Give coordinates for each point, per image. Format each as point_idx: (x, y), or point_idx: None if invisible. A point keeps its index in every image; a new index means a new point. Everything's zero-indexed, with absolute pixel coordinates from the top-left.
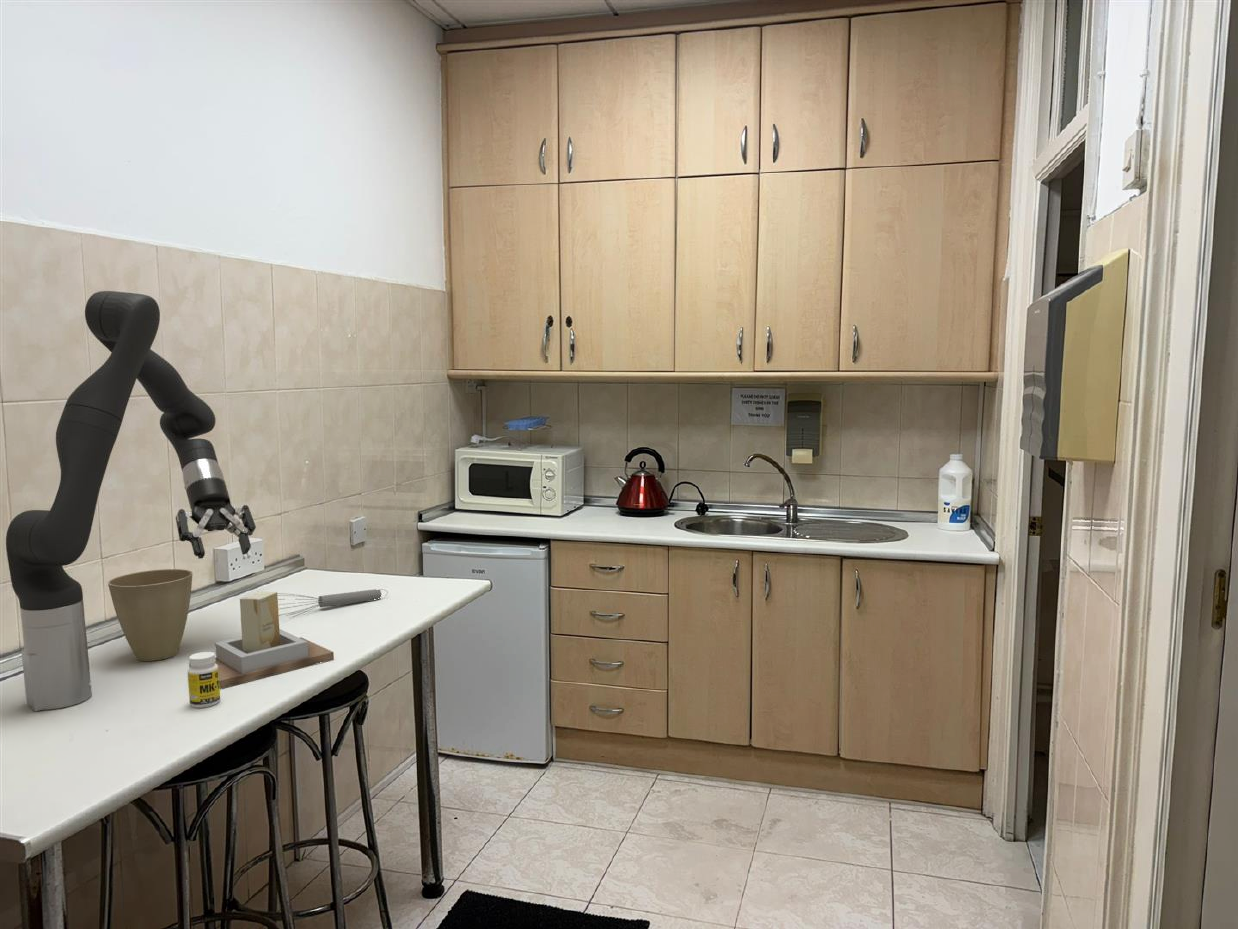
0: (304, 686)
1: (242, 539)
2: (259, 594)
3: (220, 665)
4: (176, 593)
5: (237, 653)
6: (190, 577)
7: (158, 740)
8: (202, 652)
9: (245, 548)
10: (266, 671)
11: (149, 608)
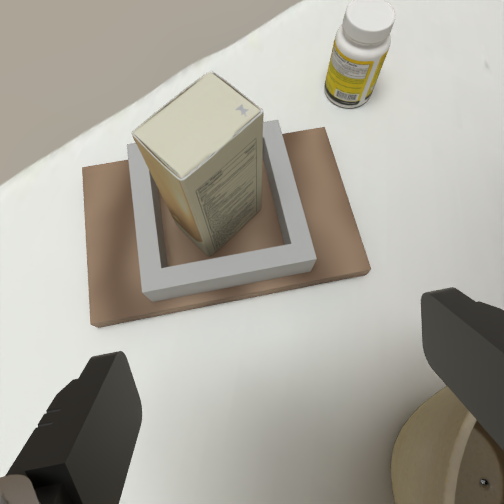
0: (188, 77)
1: (91, 426)
2: (194, 122)
3: (308, 214)
4: None
5: (280, 149)
6: (446, 456)
7: (413, 3)
8: (369, 28)
9: (118, 353)
10: None
11: None
